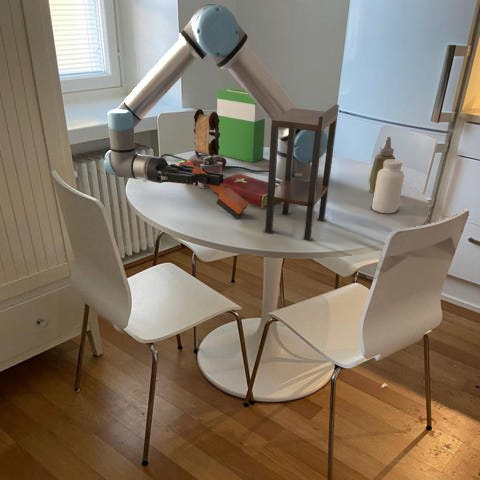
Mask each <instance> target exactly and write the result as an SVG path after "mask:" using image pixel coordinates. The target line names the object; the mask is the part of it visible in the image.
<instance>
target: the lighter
mask: <svg viewBox="0 0 480 480" xmlns="http://www.w3.org/2000/svg"><path fill="white" fill-rule="evenodd" d="M220 156H221V155H220ZM220 156H219V155H218V156H213V157H212V156H208V157H206V158H203V161H204V163H203V164H200V167H201V168H203V167H204V168H205V171H208V172H215V173H222V174H223V168H222V162H217V160H221V157H220ZM214 160H215V162H214ZM200 188H202V189H211V188H210V187H209V186H208V185H207V184H203V183H200Z"/></svg>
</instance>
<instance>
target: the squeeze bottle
mask: <svg viewBox="0 0 480 480" xmlns="http://www.w3.org/2000/svg"><path fill="white" fill-rule="evenodd" d="M394 151H395V149H394V148H392V138H391V136H387V137H386V139H385V141H384V144H383V146H382V147H379V149H378V153H377V154H376V155H375V156H374V160H373V163H372V166H371V169H370V170H371V171H370V174H369V178H368V184H369V190H370V192H371V193H373V194H374V192H375V186H376V180H377V174H378V172H379V171H380V170H381V169H383V164H384V161H385V160H387V159H395V160H396V157H395V156H394V153H395V152H394Z"/></svg>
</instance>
